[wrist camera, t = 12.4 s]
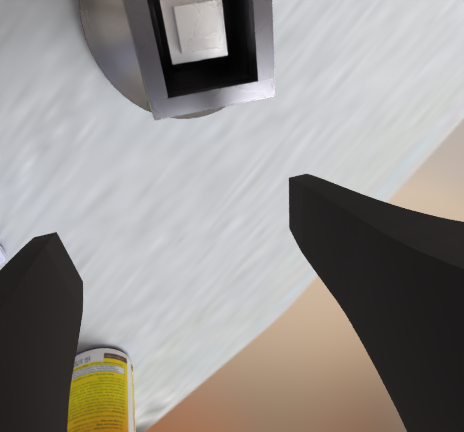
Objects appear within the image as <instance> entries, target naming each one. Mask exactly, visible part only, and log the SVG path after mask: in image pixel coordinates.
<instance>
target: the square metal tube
mask: <svg viewBox="0 0 464 432" xmlns="http://www.w3.org/2000/svg"><path fill="white" fill-rule="evenodd" d="M122 1H123V5H124V9H125V13H126V17H127V21H128V25H129V29H130V33H131V37H132V41H133V45H134V48H135V52H136V56H137V60H138V64H139V68H140V72H141V76H142V80H143V84H144V88H145V92H146V95H147V98H148V101H149V105H150V108H151V111H152V114H153V117H154V120H159V119H164V118H169V117H174V116H179V115H184V114H189V113H194V112H199V111H204V110H209V109H214V108H219V107H224V106H229V105H234V104H239V103H244V102H249V101H254V100H259V99H264V98H269V97H274V96H275V72H274V43H273V14H272V0H222V5H223V14H224V24H225V33H226V43H227V52H228V55H226V56H224V60H225V63H221V64H215V65H210V66H204V67H198V68H193V69H187V70H181V71H176V72H170V73H164V74H163V71H162V67H161V62H160V58H159V53H158V49H157V44H156V39H155V35H154V30H153V26H152V21H151V16H150V12H149V7H148V3H147V0H122Z"/></svg>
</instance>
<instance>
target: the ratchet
mask: <svg viewBox="0 0 464 432" xmlns="http://www.w3.org/2000/svg"><path fill="white" fill-rule="evenodd" d="M147 3H148V7H149V12H150V16H151V21H152V26H153V30H154V35H155V39H156V44H157V49H158V53H159V58H160V62H161V67H162V71H163V74H164V73H170V72H176V71H181V70H187V69H193V68H198V67H204V66H210V65H215V64H221V63H225V60H224V56H226V55H228V52H227V43H226V33H225V24H224V14H223V5H222V0H147ZM79 5H80V14H81V21H82V26H83V30H84V33H85V37H86V40H87V43H88V45H89V48H90V50H91V53H92V55H93V57H94V59H95V61H96V62H97V64H98V66H99V68H100V69H101V71H102V72H103V73H104V75H105V76H106V78H107V79H108V80H109V81H110V82H111V84H112V85H113V86H114V87H115V88H116V89H117V90H118V91H119V92H120V93H121V94H122V95H123V96H125V97H126V98H127V99H129V100H130V101H131V102H133V103H134V104H136V105H137V106H139V107H141V108H143V109H145V110H147V111H149V112H152V111H151V108H150V105H149V101H148V98H147V95H146V92H145V88H144V84H143V80H142V76H141V72H140V68H139V64H138V60H137V56H136V52H135V48H134V45H133V41H132V37H131V33H130V29H129V25H128V21H127V17H126V13H125V9H124V5H123V1H122V0H79ZM224 107H226V106H224ZM224 107H219V108H214V109H209V110H204V111H199V112H194V113H189V114H184V115H179V116H174V117H169V118H177V119H190V118H197V117H202V116H206V115H209V114H212V113H214V112H217V111H219V110H221V109H222V108H224Z"/></svg>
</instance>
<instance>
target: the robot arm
mask: <svg viewBox="0 0 464 432" xmlns="http://www.w3.org/2000/svg"><path fill="white" fill-rule="evenodd" d="M289 228H290V230H291V232H292V234H293V236H294V238H295V240H296V242H297V244H298V246H299V248H300V250H301V251H302V253H303V255H304V256H305V257H306V259H307V260H308V262H309V263H310V264H311V266H312V267H313V269H314V270H315V271H316V273H317V274H318V276H319V277H320V278H321V280H322V281H323V282H324V284H325V285H326V287H327V288H328V289H329V291H330V292H331V293H332V295H333V296H334V298H335V299H336V300H337V302H338V303H339V305H340V306H341V308H342V309H343V311H344V312H345V314H346V315H347V317H348V319H349V321H350V322H351V324H352V326H353V328H354V329H355V331H356V333H357V334H358V336H359V338H360V340H361V342H362V343H363V345H364V347H365V349H366V351H367V353H368V355H369V356H370V358H371V360H372V362H373V364H374V366H375V368H376V369H377V371H378V373H379V375H380V377H381V379H382V381H383V383H384V385H385V387H386V389H387V391H388V393H389V395H390V397H391V399H392V401H393V403H394V405H395V407H396V409H397V411H398V413H399V415H400V417H401V419H402V422H403V423H404V426H405V428H406V430H407V432H464V222H461V221H455V220H450V219H445V218H440V217H436V216H432V215H428V214H424V213H420V212H416V211H412V210H409V209H405V208H402V207H398V206H395V205H392V204H389V203H386V202H383V201H380V200H377V199H374V198H371V197H368V196H365V195H363V194H360V193H357V192H355V191H352V190H349V189H347V188H344V187H342V186H339V185H337V184H334V183H332V182H329V181H326V180H324V179H321V178H318V177H316V176H313V175H309V174H304V175H299V176H295V177H291V178H289ZM5 259H6V253H5V252H4V250H3V249H2V247H1V246H0V264H2V263H3V262H4V261H5ZM82 313H83V281H82V279H81V277H80V275H79V274H78V272H77V270H76V268H75V266H74V264H73V262H72V260H71V258H70V257H69V255H68V253H67V251H66V249H65V247H64V245H63V243H62V242H61V240H60V238H59V236H58V234H57V232H55V233H51V234H47V235H42V236H38V237H34V238H33V239H32V240H31V241H29V242H28V243H27V244H26V245H25V246H24V247H23V248H22V249H21V250H20V251H19V252H18V253H17V254H16V255H15V256H14V257H13V258H12V259H11V260H10V261H9V262H8V263H7V264H6V265H5V266H4V267H3V268H2V269H1V270H0V432H67V426H68V408H69V396H70V388H71V381H72V375H73V369H74V363H75V357H76V351H77V345H78V339H79V332H80V326H81V320H82Z"/></svg>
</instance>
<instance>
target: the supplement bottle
mask: <svg viewBox="0 0 464 432" xmlns="http://www.w3.org/2000/svg"><path fill="white" fill-rule="evenodd" d="M67 432H135V408H134V384H133V367H132V362H131V360H130V359H129V357H128V356H127V355H126V354H124V353H123V352H121V351H118V350H115V349H109V348H99V349H93V350H89V351H86V352H83V353H81V354H79V355H77V356H76V357H75V363H74V369H73V375H72V381H71V388H70V396H69V408H68V426H67Z"/></svg>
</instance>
